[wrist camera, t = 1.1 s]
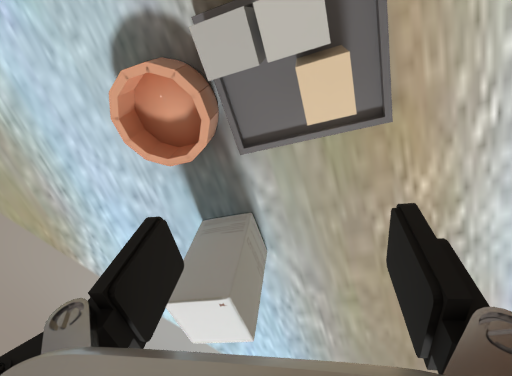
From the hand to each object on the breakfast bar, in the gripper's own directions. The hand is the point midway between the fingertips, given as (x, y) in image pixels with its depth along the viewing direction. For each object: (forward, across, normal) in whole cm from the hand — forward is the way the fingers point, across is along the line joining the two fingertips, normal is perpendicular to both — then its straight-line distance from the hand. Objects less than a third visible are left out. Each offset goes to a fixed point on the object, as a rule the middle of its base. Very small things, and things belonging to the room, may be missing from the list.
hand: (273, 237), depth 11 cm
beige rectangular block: (+18, -3, -2) cm, 19 cm away
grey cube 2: (+18, +4, -7) cm, 20 cm away
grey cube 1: (+18, -1, -7) cm, 20 cm away
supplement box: (+19, +9, +16) cm, 26 cm away
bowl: (+18, +12, -2) cm, 22 cm away
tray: (+18, -1, -4) cm, 19 cm away
